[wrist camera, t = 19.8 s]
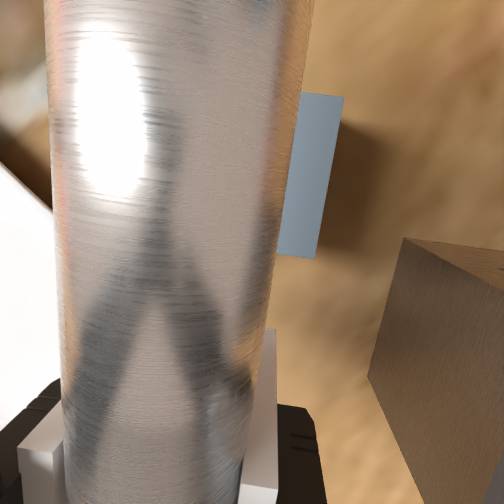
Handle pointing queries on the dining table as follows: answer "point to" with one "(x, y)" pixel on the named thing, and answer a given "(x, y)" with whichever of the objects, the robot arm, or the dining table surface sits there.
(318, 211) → the v block
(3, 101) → the dining table surface
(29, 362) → the salad plate
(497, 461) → the slotted grey block
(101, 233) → the axle
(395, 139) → the dining table surface
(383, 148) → the dining table surface
